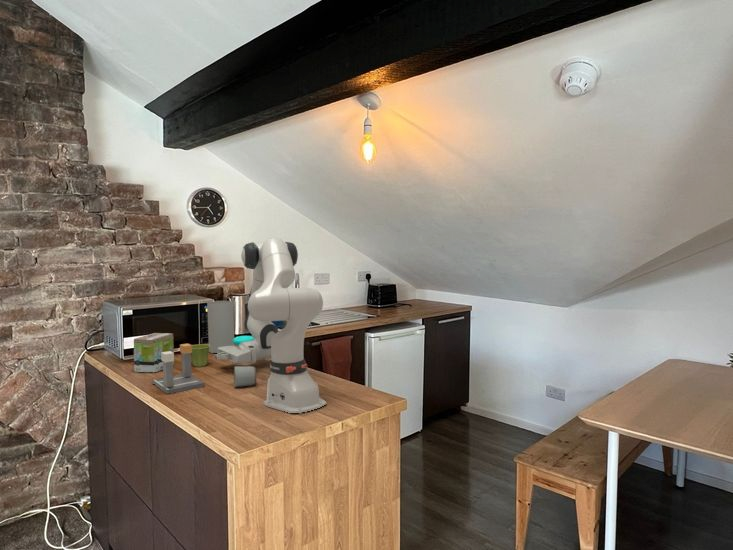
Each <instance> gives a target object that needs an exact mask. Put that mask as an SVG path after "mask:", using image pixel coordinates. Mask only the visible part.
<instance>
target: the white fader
mask: <svg viewBox="0 0 733 550" xmlns="http://www.w3.org/2000/svg"><path fill="white" fill-rule="evenodd" d="M161 360H162V361H163V369H162V370H163V371H162V372H163V378H164V386H166V387H172V386H174V381H173V376H174V365H173V361H174V362H175V352H174V353H173V352H171V351H167V352H161Z"/></svg>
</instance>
